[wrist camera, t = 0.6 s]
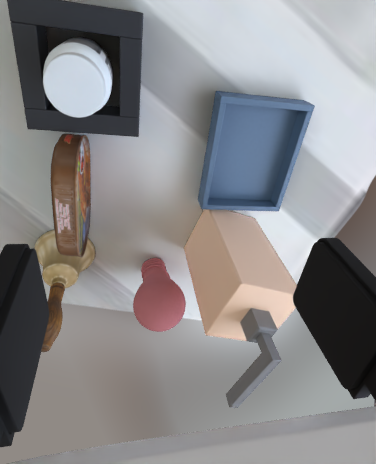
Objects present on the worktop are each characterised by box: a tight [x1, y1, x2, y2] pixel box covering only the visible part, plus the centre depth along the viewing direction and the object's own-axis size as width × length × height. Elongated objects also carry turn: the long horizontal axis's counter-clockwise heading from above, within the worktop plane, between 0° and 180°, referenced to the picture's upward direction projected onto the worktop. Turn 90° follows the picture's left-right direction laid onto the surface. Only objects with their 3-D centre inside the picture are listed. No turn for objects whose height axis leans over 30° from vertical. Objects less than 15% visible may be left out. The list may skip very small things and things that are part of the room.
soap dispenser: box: [184, 209, 297, 408], centre depth 40 cm, size 13×9×22 cm
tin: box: [51, 134, 91, 258], centre depth 36 cm, size 15×3×8 cm, turn 170°
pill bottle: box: [43, 37, 113, 118], centre depth 29 cm, size 6×6×10 cm
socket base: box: [7, 0, 143, 137], centre depth 31 cm, size 11×11×4 cm
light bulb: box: [133, 258, 186, 332], centre depth 45 cm, size 7×7×12 cm
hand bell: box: [34, 230, 95, 352], centre depth 39 cm, size 8×8×16 cm
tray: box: [198, 91, 314, 211], centre depth 40 cm, size 14×11×3 cm
